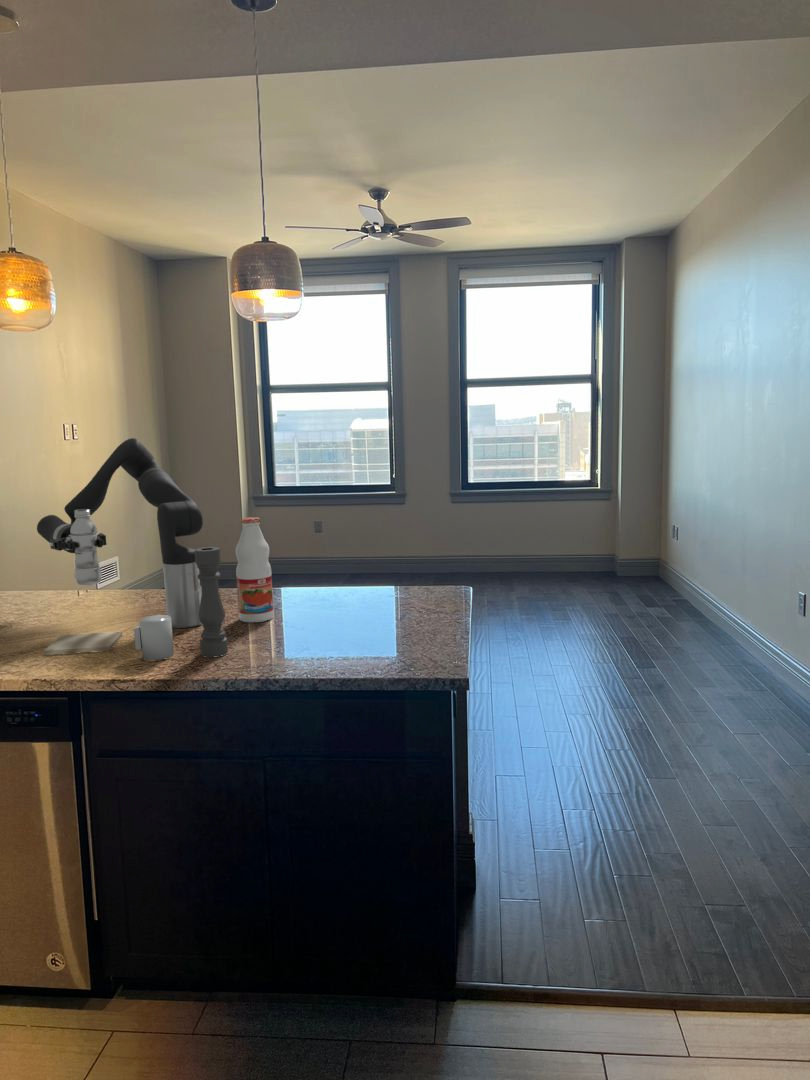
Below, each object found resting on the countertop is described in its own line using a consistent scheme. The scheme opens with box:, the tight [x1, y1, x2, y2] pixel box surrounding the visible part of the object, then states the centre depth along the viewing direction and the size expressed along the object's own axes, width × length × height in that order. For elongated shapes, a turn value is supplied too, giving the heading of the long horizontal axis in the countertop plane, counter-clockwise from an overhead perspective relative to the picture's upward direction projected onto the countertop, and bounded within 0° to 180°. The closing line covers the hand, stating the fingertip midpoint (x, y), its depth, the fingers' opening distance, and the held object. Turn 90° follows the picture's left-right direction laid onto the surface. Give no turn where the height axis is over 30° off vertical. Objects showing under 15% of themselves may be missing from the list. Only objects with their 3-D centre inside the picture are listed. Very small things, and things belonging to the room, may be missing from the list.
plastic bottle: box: [70, 509, 103, 587], centre depth 197 cm, size 6×7×20 cm
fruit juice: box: [235, 516, 275, 624], centre depth 205 cm, size 9×9×28 cm
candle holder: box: [194, 546, 229, 658], centre depth 175 cm, size 6×6×25 cm
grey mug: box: [133, 614, 175, 661], centre depth 175 cm, size 8×7×9 cm
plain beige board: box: [43, 631, 124, 656], centre depth 186 cm, size 15×13×1 cm
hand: (87, 545), depth 195 cm, fingers closed on plastic bottle, 6 cm apart
